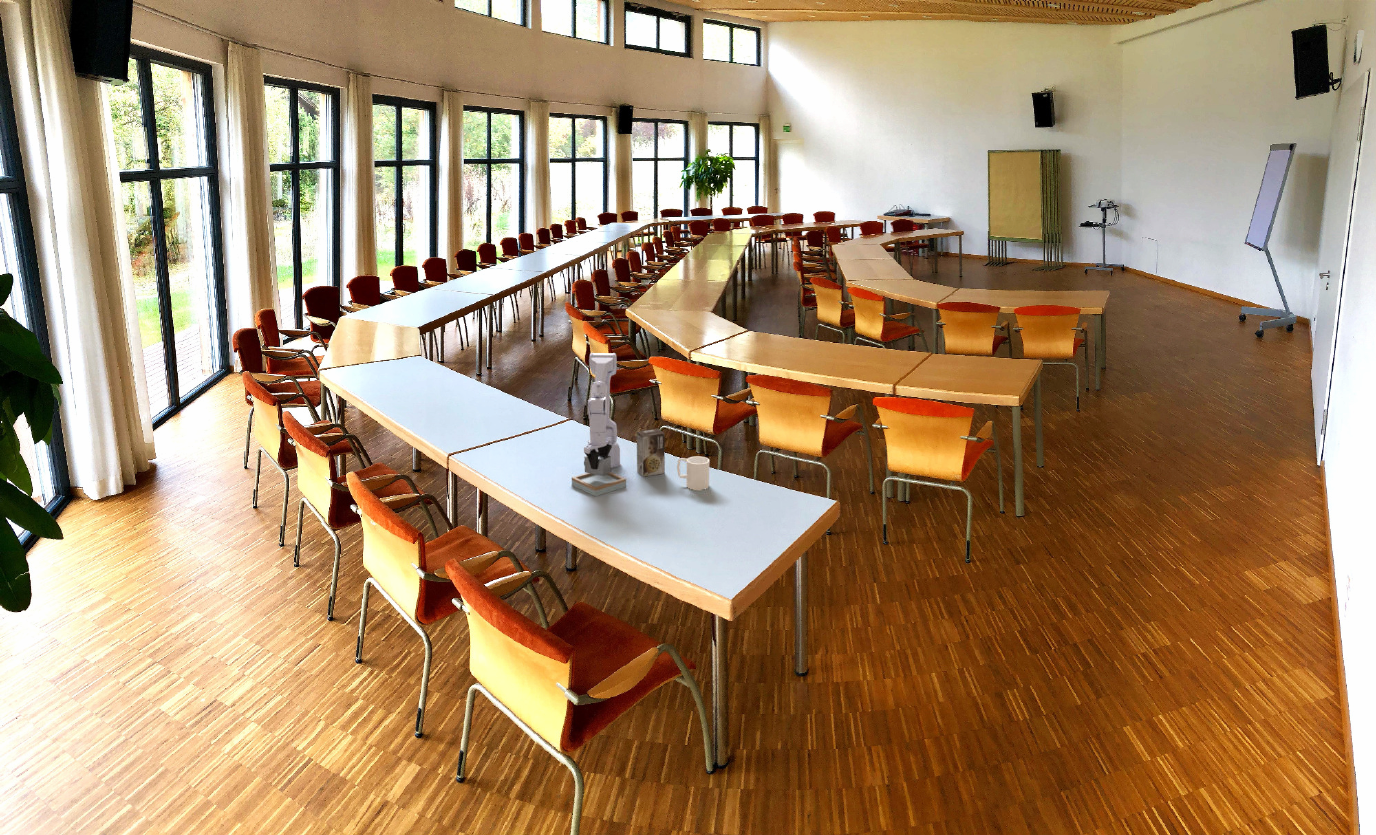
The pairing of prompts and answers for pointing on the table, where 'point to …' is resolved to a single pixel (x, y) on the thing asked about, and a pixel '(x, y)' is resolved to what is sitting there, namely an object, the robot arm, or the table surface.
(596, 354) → the robot arm
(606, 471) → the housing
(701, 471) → the cup
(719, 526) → the table surface
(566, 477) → the table surface
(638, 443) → the coffee box
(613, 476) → the square tray
